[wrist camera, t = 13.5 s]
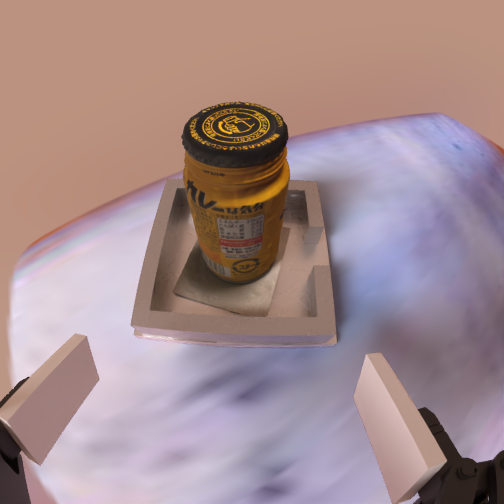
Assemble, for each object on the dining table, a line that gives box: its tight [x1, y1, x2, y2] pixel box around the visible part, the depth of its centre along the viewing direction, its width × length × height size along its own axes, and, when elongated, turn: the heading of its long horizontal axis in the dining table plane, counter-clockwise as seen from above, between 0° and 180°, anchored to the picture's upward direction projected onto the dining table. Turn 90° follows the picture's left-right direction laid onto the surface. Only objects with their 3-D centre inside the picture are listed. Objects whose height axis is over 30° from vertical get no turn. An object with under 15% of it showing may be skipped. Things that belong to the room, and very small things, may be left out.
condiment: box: [173, 102, 291, 317], centre depth 17 cm, size 7×8×12 cm
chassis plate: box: [131, 179, 337, 348], centre depth 21 cm, size 15×14×4 cm
